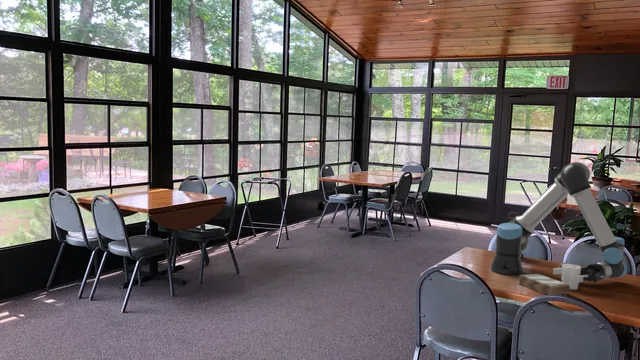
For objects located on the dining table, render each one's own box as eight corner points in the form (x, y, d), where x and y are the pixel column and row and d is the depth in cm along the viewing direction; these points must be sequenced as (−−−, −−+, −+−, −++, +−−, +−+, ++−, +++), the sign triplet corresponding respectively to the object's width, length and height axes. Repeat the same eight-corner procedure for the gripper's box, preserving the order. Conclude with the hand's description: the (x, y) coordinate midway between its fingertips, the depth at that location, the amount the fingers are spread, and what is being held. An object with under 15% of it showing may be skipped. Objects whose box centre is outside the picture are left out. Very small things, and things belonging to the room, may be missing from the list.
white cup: (581, 290, 232) (583, 269, 231) (562, 289, 233) (564, 267, 232) (576, 285, 239) (578, 264, 238) (558, 284, 241) (559, 263, 240)
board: (518, 284, 238) (519, 274, 238) (536, 281, 243) (537, 273, 242) (550, 296, 222) (551, 286, 221) (569, 294, 226) (569, 284, 226)
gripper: (621, 286, 232) (587, 291, 223) (575, 272, 254) (543, 275, 245) (623, 270, 231) (589, 274, 223) (577, 257, 253) (544, 260, 245)
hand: (564, 275), depth 234 cm, fingers open, 12 cm apart
